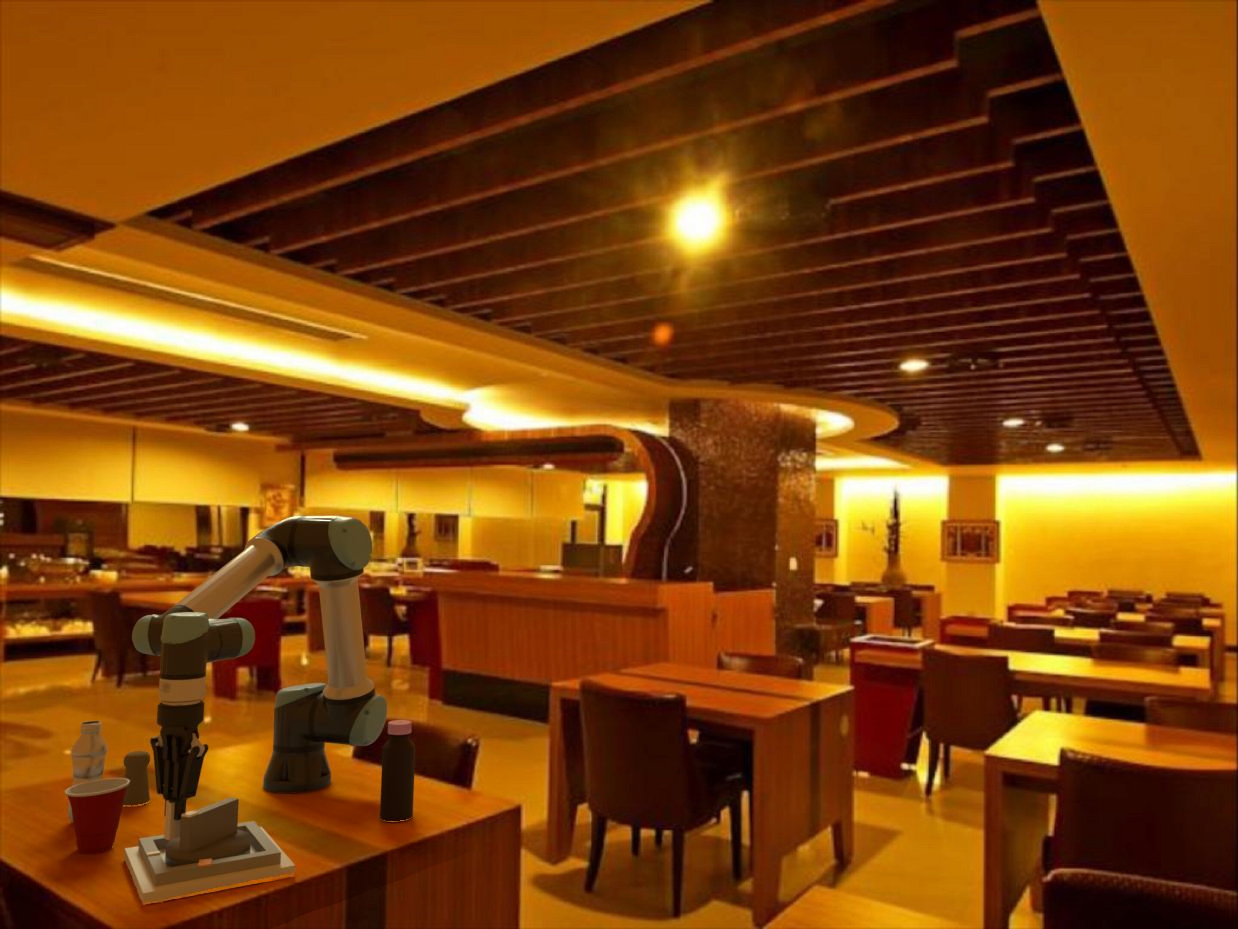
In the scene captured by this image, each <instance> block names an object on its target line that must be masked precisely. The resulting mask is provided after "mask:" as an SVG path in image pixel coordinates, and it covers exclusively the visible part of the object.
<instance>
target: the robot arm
mask: <svg viewBox="0 0 1238 929" xmlns="http://www.w3.org/2000/svg"><path fill="white" fill-rule="evenodd" d="M244 546H245V547H244V550H243V551H242V552H240V553H239V554H238V555H236V556H235V557H234V558H232V559H231V560H230V561H229V562H227V563H226V564H225V565H224V566H222V567H221V568H220V569H219V570H218V571H216V572H215V573H213V574H212V575H211V576H209V577H208V578H207V579H206V580H205V581H203V582H202V583H201V584H200V585H198V586H197V587H195V589H193V590H192V591H190V592H189V593H188V594H187V595H185V596H184V597H183V598H182V599H180V600H179V601H177V603H175V604H174V605H173V606H171V607H170V608H168V609H167V610H166V611H165V612H164V613H162V614H149V615H148V614H147V615H145V616H142V617H141V618H139V619H138V620H137V621H136V623H135V625H134V626H133V629H132V634H131V641H132V643H133V645H134V648H135V650H136V651H138V653H139V652H140V653H141V654H146V655H151V656H155V657H160V662H159V663H160V666H159V667H160V668H159V670H160V671H159V683H158V684H159V685H158V697H157V698H158V700H159V701H160V702H159V704H157V709H156V710H157V713H156V724H157V725H158V726H160V727H161V729H160V730H159V731H160V732H159V735H157V736H154V737H151V738H150V739H149V743H150V746H151V750H152V753H153V754H152V756H153V762H154V775H155V776H154V777H155V786H156V787H155V788H156V793H157V794H158V795H161V796H162V798H163V800H164V811H163V812H164V814H163V815H164V834H163V835H164V839H166V840H172V839H175V838H178V837H180V826H181V815H182V814H183V813H185V812H187V811H186V809H187V800H188V799H190V798H194V797H196V795H197V791H198V787H199V783H200V779H201V778H200V777H201V773H202V768H203V764H204V760H205V759H204V758H205V756H206V754H207V753H208V751H209V745H208V743H207V744H206V743H205V744H202V742H201V741H200V740H199V739H200V733H199V726H200V724H201V723H203V722H204V717H205V716H204V714H205V702H204V701H203V700H204V698H206V686H207V685H206V683H207V682H206V680H207V664H208V663H213V662H220V661H224V660H234V659H236V658H239V657H243V656H245V655H247V654H248V653H249V652H251V650H252V649H253V648H254V644H255V642H256V631H255V629H254V626H253V624H252V623H251V622H250V621H248V620H247V619H246V618H242V617H227V618H220V617H221V616H222V615H224V614H225V613H226V612H228V610H230V609H231V608H232V607H233V606H234V605H235V604H237V603H238V602H239V601H241V600H242V598H244V597H245V596H246V595H247V594H248V593H250V592H251V591H252V590H253V589H254V588H256V586H258V585H259V584H260V583H261V582H263V581H264V580H265V579H266V578H267V577H273V576H276V575H279V573H280V572H281V571H283V570H285V569H287V568H295V567H301V568H302V567H303V568H309V574H310V575H309V576H310V579H311V581H313V582H314V583H315V584H317V586H318V591H319V593H318V594H319V602H320V603H319V604H320V613H321V620H322V630H323V631H322V632H323V640H324V641H323V642H324V651H325V660H326V669H327V680H328V683H323V682H313V683H305V684H298V685H293V686H287V687H284V688H282V689H279V690H278V691H277V693H276V696H275V699H274V701H275V702H274V707H273V710H274V711H273V712H274V714H273V715H274V716H273V717H274V718H273V734H272V735H273V739H272V743H273V744H272V754H271V757H270V759H269V762H268V765H267V767H266V770H265V773H264V775H263V782H262V783H263V785H262V787H263V789H264V790H265V791H268V792H271V793H277V794H301V793H310V792H314V791H318V790H322V789H325V788H326V787H328V786H330V785H331V784H332V783H331V782H332V772H331V768H330V763H329V761H328V757H327V754H326V749H325V746H326V745H325V744H326V743H327V744H335V745H336V744H337V745H343V746H344V745H347V746H350V747H357V746H359V747H362V746H363V747H367V746H369V745H371V744H373V743H374V742H376V740H377V739H378V738H379V737H380V735H381V733H382V732H383V729H384V728H385V724H386V721H387V715H388V703H387V700H386V698H385V697H384V696H383V695H381V694H379V693H378V694H376V685H375V682H374V681H373V680H372V679H370V678H369V677H368V674H367V664H366V663H367V662H366V654H365V652H366V651H365V643H364V633H363V632H364V631H363V620H362V611H361V600H360V591H359V590H360V589H359V579H360V578H361V577H362V576H363V574H364V572H365V569H364V568H366V567H367V566H368V565H369V563H370V561H371V560H372V555H371V554H372V553H373V541H372V536H371V533H370V530H369V528H368V527H367V525H366V524H365V523H363V521H362V520H360V519H359V518H357V517H350V516H349V517H348V516H344V515H301V514H300V515H295V516H291V517H287V518H285V519H282V520H280V521H278V522H276V523H273V524H271V525H270V526H268V527H266V528H264V529H263V530H261V531H260V532H258V533H257V534H256V535H254V536H253V537H252V538H251V539H249V540H248V541H247V542H246V543H245V545H244ZM219 618H220V619H219Z"/></svg>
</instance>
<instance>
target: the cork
mask: <svg viewBox="0 0 1238 929" xmlns="http://www.w3.org/2000/svg"><path fill="white" fill-rule="evenodd" d="M150 762H151V754H150V753H149V752H148V751H145V750H134V751H130V752H128V753H126V755H125V756H124V758H123V766H124V768H125V773H124V777H123V778H126V779H129V780H130V784H129V785H128V787H127V791H126V794H125V799H124V802H123V805H131V806H132V805H138V804H143V803H146V802H148V801H149V800H150V801H151V799H150V784H149V774H148V766H149V764H150Z"/></svg>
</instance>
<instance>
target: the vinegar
mask: <svg viewBox="0 0 1238 929" xmlns="http://www.w3.org/2000/svg"><path fill="white" fill-rule="evenodd" d="M412 724H413V723H412V721H411V720H408V719H407V720H406V719H395V720H390V721H389V722H387V736H388V740H387V741H386V742H385V743H384V744H383V746H382V753H381V754H382V756H381V778H380V779H381V780H380V803H379V804H380V806H379V808H380V809H379V818H380V819H379V820H381V819H382V820H385V821H400V820H406V819H409V818H411V817H412V818H413V815H414V814H413V813H414V790H415V769H416V768H415V766H416V765H415V764H416V763H415V762H416V761H415V760H416V745H415V743H414V742H413V741H412V740H411V738H410V737H411V735H412ZM412 818H411V819H412ZM382 820H381V821H382ZM385 821H384V822H385Z"/></svg>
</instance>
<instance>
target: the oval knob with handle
mask: <svg viewBox="0 0 1238 929" xmlns="http://www.w3.org/2000/svg"><path fill="white" fill-rule="evenodd" d="M239 800H240V799H239V798H235V797H227V798H225V799H223V800H220V801H218V802H214V803H212V804H210V805H207V806H204V807H201V808H198V809H196V810H189V811H186V812H185V813H183V814H182V815H181V826H180V837H178V838H175V839H172V840H170V841H169V842H168V843H167V844H166V852H165V862H166V864H168V865H169V866H171V867H176V866H182V865H187V864H193V863H199V860H201V859H212V860H216V859H222V858H228V857H234V856H240V855H245V854H249V853H250V848H251V836H250V834H249V833H247V832H245V831H242V830H237V825H238V823H239V804H240V802H239Z"/></svg>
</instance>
